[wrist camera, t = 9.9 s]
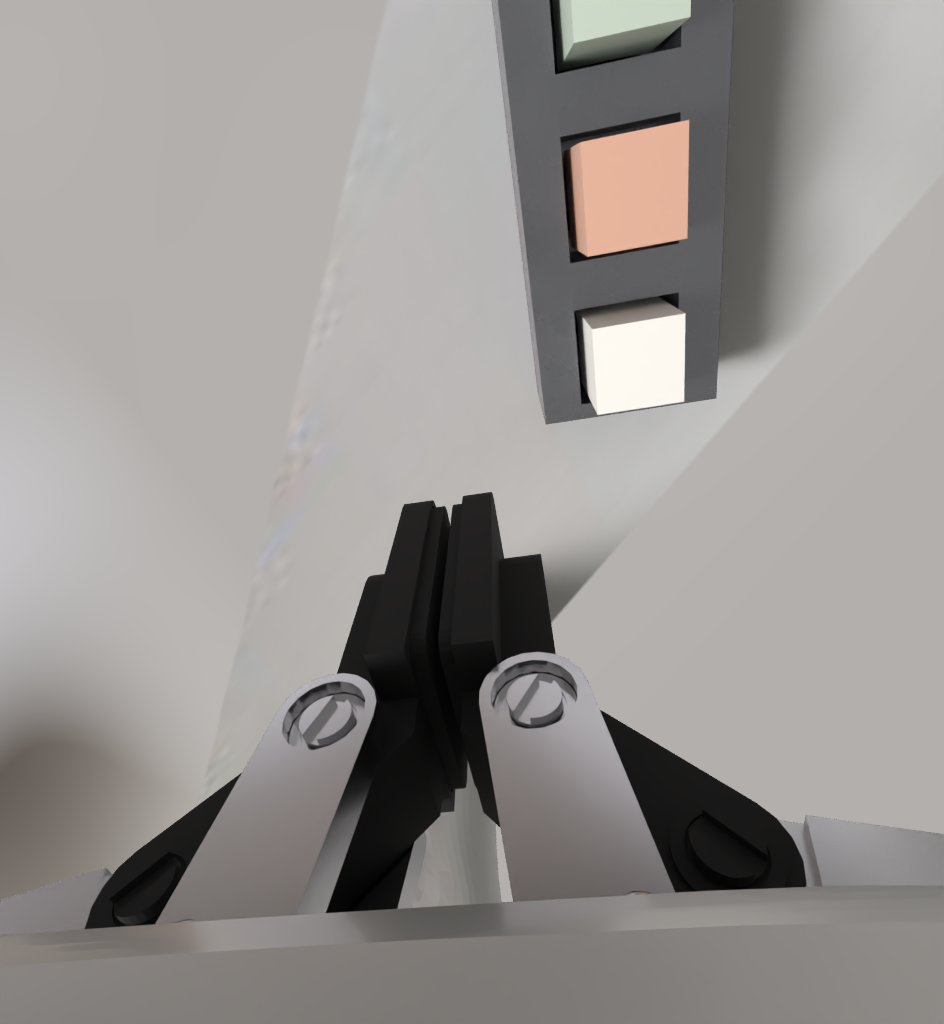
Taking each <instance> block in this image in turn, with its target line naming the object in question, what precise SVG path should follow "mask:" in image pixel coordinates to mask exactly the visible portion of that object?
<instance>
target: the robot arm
mask: <svg viewBox="0 0 944 1024" xmlns="http://www.w3.org/2000/svg"><path fill="white" fill-rule="evenodd" d="M496 824H497V825H498V826H499V827H500V828H501V834H502V839H503V845H504V851H505V857H506V863H507V869H508V874H509V880H510V886H511V892H512V897H513V902H502V901H501V892H500V883H499V875H498V861H497V846H496ZM0 1024H944V834H938V833H931V832H923V831H916V830H909V829H902V828H895V827H888V826H880V825H873V824H866V823H858V822H851V821H845V820H837V819H830V818H823V817H816V816H808V815H806V817H805V822H804V824H801V823H794V822H786V821H780V820H777V818H775V817H774V816H773V815H771V814H770V813H769V812H768V811H766V810H765V809H764V808H762V807H761V806H760V805H758V804H757V803H755V802H753V801H752V800H750V799H749V798H747V797H745V796H743V795H742V794H740V793H739V792H737V791H735V790H734V789H732V788H730V787H729V786H727V785H725V784H724V783H722V782H720V781H718V780H717V779H715V778H713V777H712V776H710V775H709V774H707V773H705V772H704V771H702V770H700V769H698V768H697V767H695V766H693V765H692V764H690V763H688V762H687V761H685V760H683V759H682V758H680V757H678V756H677V755H675V754H673V753H672V752H670V751H668V750H667V749H665V748H663V747H661V746H660V745H658V744H657V743H655V742H653V741H652V740H650V739H648V738H646V737H645V736H643V735H642V734H640V733H638V732H637V731H635V730H633V729H631V728H630V727H628V726H626V725H625V724H623V723H621V722H620V721H618V720H616V719H615V718H613V717H611V716H610V715H608V714H606V713H605V712H603V711H601V710H600V709H599V707H598V705H597V702H596V699H595V697H594V695H593V693H592V690H591V687H590V685H589V683H588V680H587V679H586V677H585V676H584V674H583V673H582V671H581V670H580V668H579V667H577V666H576V665H575V664H574V663H572V662H571V661H570V660H568V659H566V658H563V657H561V656H558V655H556V654H555V647H554V640H553V633H552V627H551V620H550V613H549V606H548V600H547V593H546V586H545V579H544V572H543V566H542V559H541V554H537V555H529V556H521V557H513V558H506V559H504V555H503V549H502V544H501V538H500V532H499V527H498V521H497V515H496V509H495V504H494V498H493V494H492V492H489V493H482V494H475V495H468V496H463V500H462V504H457V505H453V508H452V517H451V526H450V522H449V518H448V513H447V510H446V507H445V506H443V507H436V505H435V503H434V501H433V500H432V501H425V502H418V503H411V504H404V506H403V509H402V512H401V516H400V520H399V523H398V527H397V531H396V535H395V538H394V542H393V546H392V549H391V553H390V557H389V560H388V564H387V568H386V571H385V574H381V575H374V576H370V577H368V579H367V581H366V583H365V586H364V590H363V593H362V596H361V599H360V602H359V605H358V609H357V612H356V615H355V618H354V621H353V625H352V628H351V631H350V634H349V637H348V640H347V644H346V647H345V650H344V653H343V656H342V659H341V663H340V666H339V669H338V672H337V674H332V675H327V676H324V677H321V678H318V679H315V680H313V681H311V682H309V683H308V684H306V685H304V686H302V687H301V688H299V689H298V690H297V691H295V692H294V693H293V694H292V695H291V696H290V697H288V698H287V699H286V700H285V702H284V703H283V704H282V706H281V707H280V708H279V710H278V711H277V713H276V714H275V716H274V718H273V719H272V721H271V723H270V725H269V726H268V728H267V730H266V732H265V733H264V735H263V737H262V739H261V740H260V742H259V744H258V746H257V747H256V749H255V751H254V753H253V754H252V756H251V758H250V760H249V761H248V763H247V765H246V767H245V768H244V770H243V772H242V773H241V774H239V775H238V776H237V777H235V778H234V779H233V780H231V781H230V782H229V783H227V784H226V785H225V786H223V787H222V788H221V789H219V790H218V791H217V792H215V793H214V794H213V795H211V796H210V797H209V798H207V799H206V800H205V801H203V802H202V803H201V804H199V805H198V806H197V807H195V808H194V809H193V810H191V811H190V812H189V813H187V814H186V815H185V816H183V817H182V818H181V819H179V820H178V821H177V822H175V823H174V824H173V825H171V826H170V827H169V828H167V829H166V830H165V831H163V832H162V833H161V834H159V835H158V836H157V837H155V838H154V839H153V840H151V841H150V842H149V843H147V844H146V845H145V846H143V847H142V848H140V849H139V850H138V851H137V852H135V853H134V854H133V855H132V856H131V857H130V858H129V859H127V860H126V861H125V862H124V863H123V864H122V865H121V866H120V867H119V868H118V869H117V870H116V871H115V873H114V874H113V875H112V874H111V873H110V871H109V870H108V869H107V868H103V869H100V870H97V871H93V872H90V873H87V874H83V875H81V876H77V877H74V878H71V879H67V880H64V881H61V882H58V883H55V884H51V885H48V886H45V887H42V888H38V889H36V890H32V891H29V892H25V893H22V894H19V895H16V896H13V897H10V898H6V899H3V900H0Z"/></svg>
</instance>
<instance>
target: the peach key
mask: <svg viewBox="0 0 944 1024" xmlns="http://www.w3.org/2000/svg"><path fill="white" fill-rule="evenodd" d="M564 159H565V172H566V185H567V198H568V211H569V223H570V236H571V247H573V248H574V249H576V250H578V251H579V252H581V253H582V254H584V255H586V256H587V257H589V256H595V255H600V254H606V253H611V252H617V251H622V250H628V249H633V248H638V247H644V246H649V245H655V244H660V243H666V242H671V241H676V240H682V239H687V230H688V167H689V120H686V121H681V122H676V123H671V124H666V125H662V126H657V127H652V128H647V129H642V130H637V131H632V132H628V133H623V134H618V135H613V136H608V137H603V138H599V139H594V140H589V141H584V142H580V143H578V144H576V145H575V146H573V147H571V148H569V149H568V150H566V151H564Z"/></svg>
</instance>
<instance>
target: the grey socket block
mask: <svg viewBox="0 0 944 1024" xmlns="http://www.w3.org/2000/svg"><path fill="white" fill-rule="evenodd" d="M492 6H493V15H494V23H495V32H496V40H497V49H498V57H499V66H500V74H501V83H502V91H503V100H504V108H505V117H506V125H507V134H508V142H509V151H510V159H511V168H512V176H513V185H514V193H515V202H516V210H517V219H518V227H519V236H520V244H521V253H522V261H523V269H524V278H525V286H526V295H527V303H528V312H529V320H530V329H531V337H532V346H533V354H534V363H535V371H536V380H537V388H538V395H539V399H540V403H541V407H542V411H543V415H544V419H545V423H546V424H552V423H559V422H565V421H572V420H578V419H585V418H591V417H598V416H604V415H611V414H617V413H624V412H630V411H637V410H643V409H650V408H656V407H663V406H669V405H676V404H683V403H689V402H696V401H702V400H709V399H715V398H716V392H717V369H718V347H719V325H720V302H721V280H722V257H723V235H724V213H725V190H726V168H727V146H728V123H729V101H730V78H731V56H732V34H733V11H734V0H691V17H690V18H689V19H688V20H686V21H685V22H684V23H683V24H682V25H681V26H680V27H678V28H677V29H676V30H675V31H674V32H673V33H672V34H670V35H669V36H668V37H667V38H666V39H665V40H664V41H662V42H661V43H660V44H659V45H658V46H657V47H656V48H654V49H653V50H652V51H649V52H644V53H640V54H635V55H631V56H626V57H622V58H617V59H613V60H608V61H604V62H599V63H594V64H590V65H585V66H581V67H576V68H572V69H567V70H563V71H558V69H557V56H556V44H555V31H554V18H553V5H552V0H492ZM686 120H689V167H688V230H687V239H682V240H676V241H671V242H666V243H660V244H655V245H649V246H644V247H638V248H633V249H628V250H622V251H617V252H611V253H606V254H600V255H595V256H589V257H587V256H586V255H584V254H582V253H581V252H579V251H578V250H576V249H574V248H573V247H571V236H570V223H569V211H568V198H567V185H566V172H565V159H564V151H566V150H568V149H569V148H571V147H573V146H575V145H576V144H578V143H580V142H584V141H589V140H594V139H599V138H603V137H608V136H613V135H618V134H623V133H628V132H632V131H637V130H642V129H647V128H652V127H657V126H662V125H666V124H671V123H676V122H681V121H686ZM655 296H657V297H659V298H661V299H662V300H664V301H666V302H667V303H669V304H671V305H672V306H674V307H676V308H677V309H679V310H681V311H682V312H684V313H686V314H685V379H684V402H679V403H673V404H666V405H660V406H653V407H647V408H640V409H634V410H627V411H621V412H614V413H607V414H601V415H597V413H596V411H595V409H594V407H593V405H592V403H591V401H590V399H589V397H588V395H587V393H586V390H585V388H584V386H583V384H582V381H581V369H580V356H579V343H578V330H577V317H576V310H580V309H586V308H592V307H598V306H603V305H609V304H615V303H620V302H626V301H632V300H638V299H643V298H649V297H655Z"/></svg>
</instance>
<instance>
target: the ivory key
mask: <svg viewBox="0 0 944 1024" xmlns="http://www.w3.org/2000/svg"><path fill="white" fill-rule="evenodd" d="M685 314H686V313H684V312H682V311H681V310H679V309H677V308H676V307H674V306H672V305H671V304H669V303H667V302H666V301H664V300H662V299H661V298H659V297H657V296H655V297H649V298H643V299H638V300H632V301H626V302H620V303H615V304H609V305H603V306H598V307H592V308H586V309H580V310H576V317H577V330H578V343H579V356H580V369H581V381H582V384H583V386H584V388H585V390H586V393H587V395H588V397H589V399H590V401H591V403H592V405H593V407H594V409H595V411H596V413H597V415H601V414H607V413H614V412H621V411H627V410H634V409H640V408H647V407H653V406H660V405H666V404H673V403H679V402H684V379H685Z"/></svg>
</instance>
